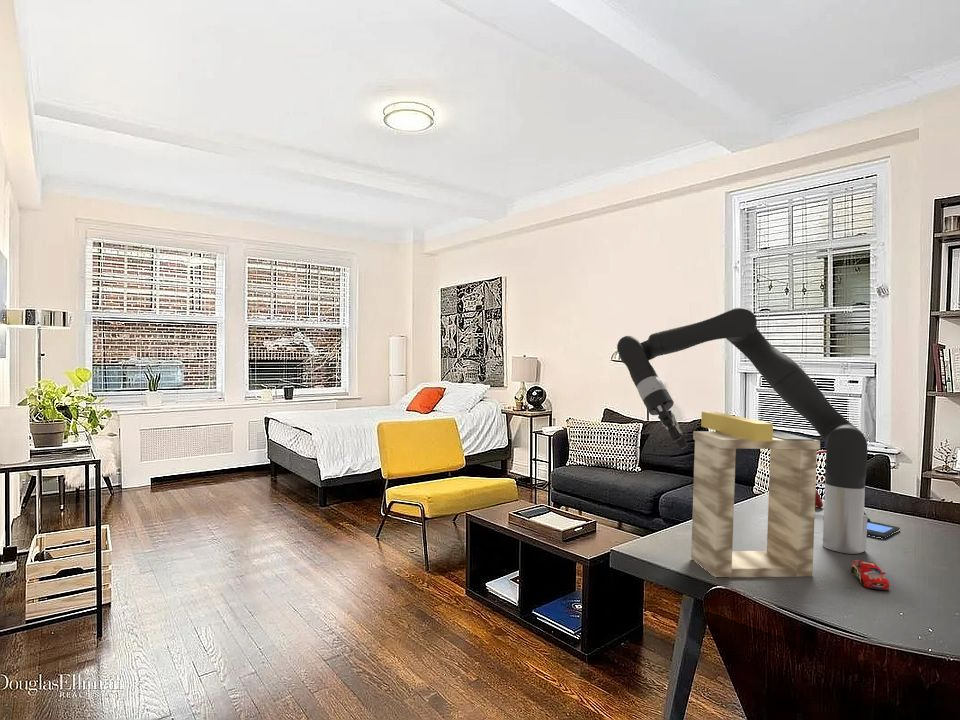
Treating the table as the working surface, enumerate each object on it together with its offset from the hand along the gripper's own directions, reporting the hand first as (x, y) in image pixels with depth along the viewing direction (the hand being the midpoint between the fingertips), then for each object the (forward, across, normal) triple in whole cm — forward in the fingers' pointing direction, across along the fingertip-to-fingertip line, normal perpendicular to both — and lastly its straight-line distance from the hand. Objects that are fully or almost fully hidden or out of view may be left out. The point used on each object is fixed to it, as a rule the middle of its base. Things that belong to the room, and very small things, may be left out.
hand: (681, 443), depth 165 cm
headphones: (+21, +71, -27) cm, 79 cm away
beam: (+7, -12, -13) cm, 19 cm away
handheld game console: (+33, +51, -32) cm, 69 cm away
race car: (+47, +5, -22) cm, 52 cm away
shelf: (+35, -2, 0) cm, 35 cm away
